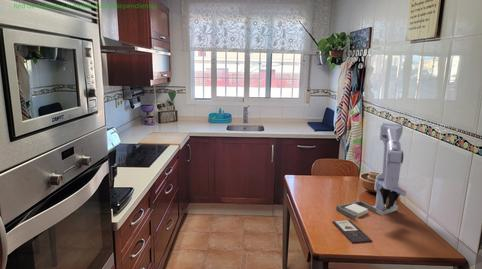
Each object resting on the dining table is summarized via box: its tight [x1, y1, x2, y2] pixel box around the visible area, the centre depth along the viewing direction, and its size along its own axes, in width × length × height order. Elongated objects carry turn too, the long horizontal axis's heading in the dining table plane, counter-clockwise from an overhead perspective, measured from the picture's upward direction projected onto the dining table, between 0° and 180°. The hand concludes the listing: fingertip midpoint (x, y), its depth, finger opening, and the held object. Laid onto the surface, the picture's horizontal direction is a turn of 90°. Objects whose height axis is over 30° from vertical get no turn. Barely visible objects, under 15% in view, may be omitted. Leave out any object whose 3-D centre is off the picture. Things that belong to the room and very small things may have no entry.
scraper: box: [375, 196, 399, 216], centre depth 149 cm, size 12×3×7 cm, turn 124°
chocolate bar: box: [331, 219, 373, 244], centre depth 144 cm, size 9×1×18 cm
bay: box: [335, 200, 379, 221], centre depth 164 cm, size 17×12×2 cm
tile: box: [344, 204, 369, 218], centre depth 163 cm, size 8×8×2 cm
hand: (388, 205), depth 150 cm, fingers closed on scraper, 2 cm apart
